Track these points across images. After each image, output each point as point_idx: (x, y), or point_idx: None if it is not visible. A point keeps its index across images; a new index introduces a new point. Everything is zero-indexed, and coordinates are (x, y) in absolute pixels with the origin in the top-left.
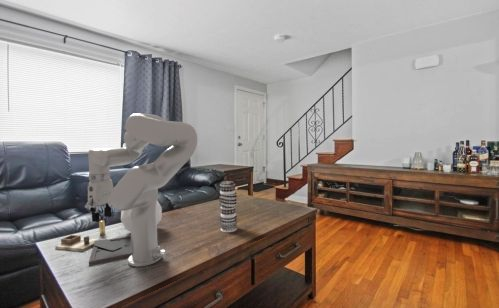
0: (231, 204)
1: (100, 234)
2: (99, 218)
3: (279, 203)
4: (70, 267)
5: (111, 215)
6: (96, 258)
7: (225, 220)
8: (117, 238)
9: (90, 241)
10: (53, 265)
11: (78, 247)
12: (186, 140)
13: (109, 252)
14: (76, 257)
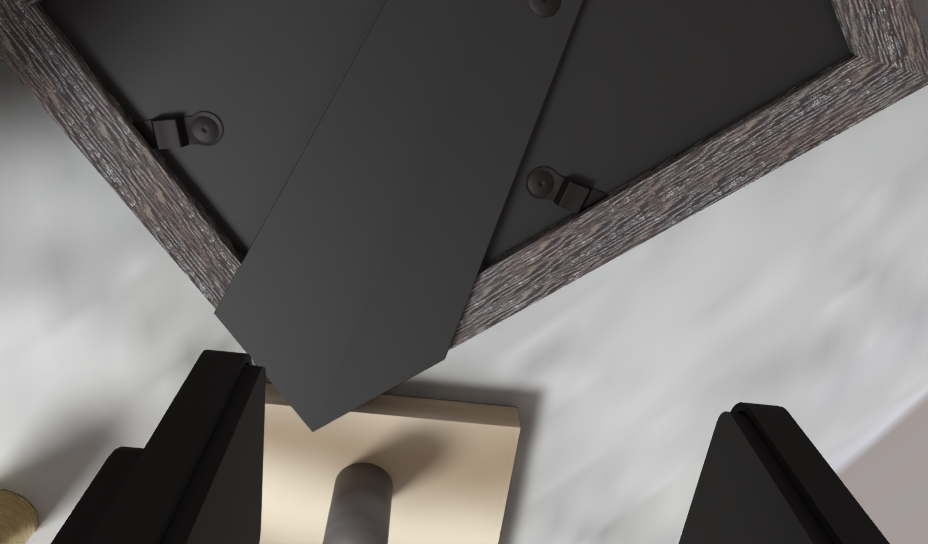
0: None
1: (30, 530)
2: (760, 461)
3: None
4: (917, 261)
5: (199, 362)
6: (805, 59)
7: None
8: (142, 180)
9: (301, 484)
10: (836, 460)
11: (484, 497)
12: None
13: None
14: (668, 370)
